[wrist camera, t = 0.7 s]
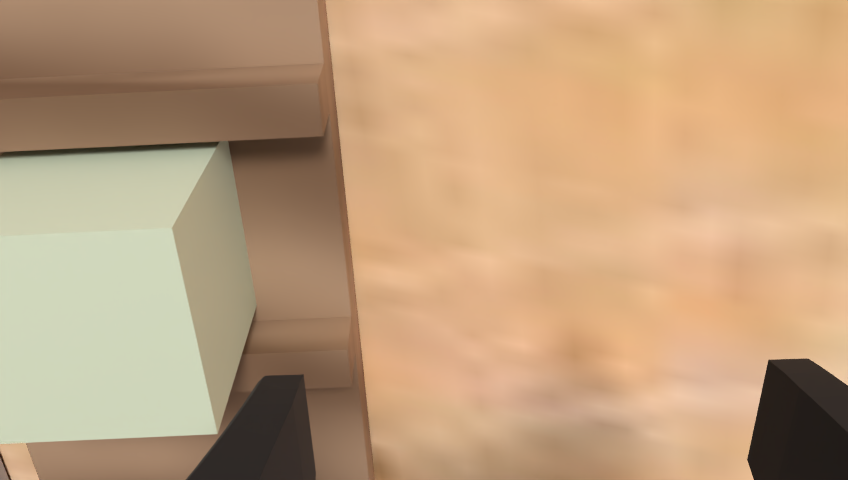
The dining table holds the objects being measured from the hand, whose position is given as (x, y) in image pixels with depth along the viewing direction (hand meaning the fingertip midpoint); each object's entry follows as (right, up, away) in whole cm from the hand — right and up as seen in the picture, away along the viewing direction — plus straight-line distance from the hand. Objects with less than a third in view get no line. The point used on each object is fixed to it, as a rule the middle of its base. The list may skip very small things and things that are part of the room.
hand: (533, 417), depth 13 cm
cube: (-9, +3, +8) cm, 12 cm away
